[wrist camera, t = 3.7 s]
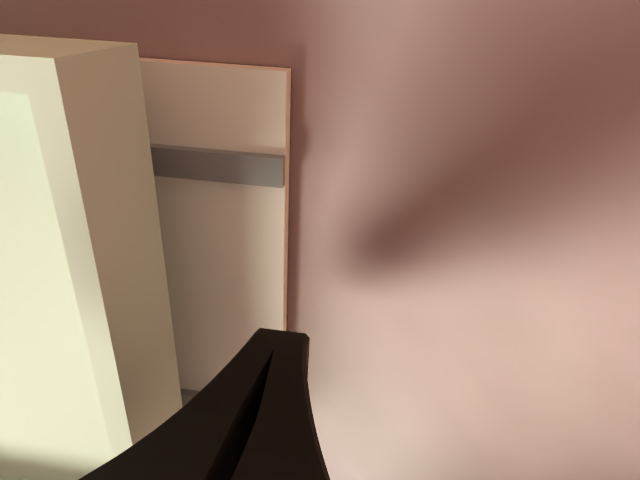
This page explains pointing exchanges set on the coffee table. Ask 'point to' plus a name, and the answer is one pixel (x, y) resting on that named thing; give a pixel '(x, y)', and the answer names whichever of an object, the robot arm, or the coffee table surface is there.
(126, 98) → the mint green storage bin
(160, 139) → the rail board
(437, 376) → the coffee table surface
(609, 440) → the coffee table surface
